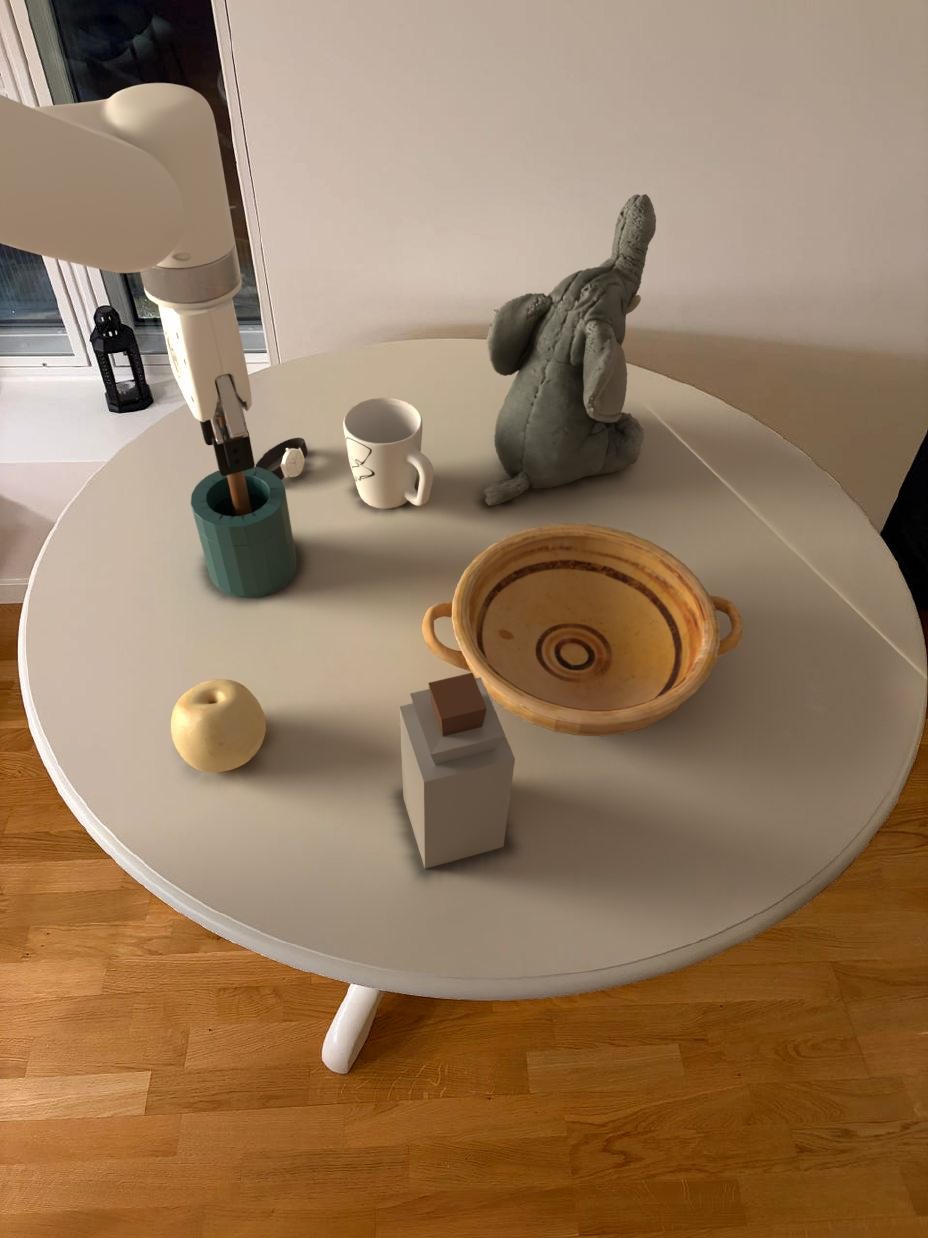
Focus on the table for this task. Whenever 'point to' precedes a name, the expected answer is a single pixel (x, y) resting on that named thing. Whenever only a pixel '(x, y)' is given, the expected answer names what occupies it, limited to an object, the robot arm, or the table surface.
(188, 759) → the apple
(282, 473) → the watch
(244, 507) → the brush
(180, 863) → the table surface
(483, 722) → the perfume bottle
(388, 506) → the mug
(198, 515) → the teal hollow cylinder
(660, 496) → the table surface
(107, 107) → the robot arm
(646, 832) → the table surface
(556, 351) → the stuffed elephant
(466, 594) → the ceramic bowl
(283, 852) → the table surface
